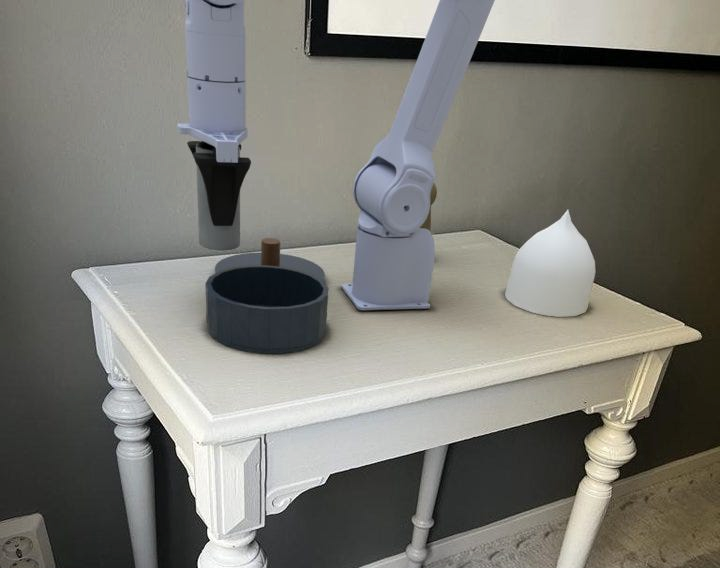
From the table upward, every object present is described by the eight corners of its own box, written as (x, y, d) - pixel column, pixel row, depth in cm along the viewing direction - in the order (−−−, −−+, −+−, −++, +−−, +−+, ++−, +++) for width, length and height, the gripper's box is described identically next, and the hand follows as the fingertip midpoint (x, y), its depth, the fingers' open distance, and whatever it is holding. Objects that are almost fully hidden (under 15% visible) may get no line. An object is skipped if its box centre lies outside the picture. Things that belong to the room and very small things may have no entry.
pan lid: (310, 259, 104) (311, 224, 101) (336, 297, 93) (339, 258, 90) (208, 260, 99) (207, 224, 97) (223, 299, 88) (222, 259, 86)
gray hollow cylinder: (230, 253, 80) (229, 152, 74) (192, 246, 81) (188, 145, 75) (246, 242, 84) (246, 145, 78) (209, 235, 84) (207, 139, 79)
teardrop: (605, 311, 97) (632, 218, 90) (543, 321, 92) (567, 224, 85) (548, 282, 105) (569, 195, 98) (488, 290, 100) (505, 199, 93)
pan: (310, 305, 90) (312, 264, 87) (338, 351, 79) (342, 307, 77) (200, 307, 86) (199, 265, 83) (215, 356, 76) (214, 310, 73)
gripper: (169, 66, 77) (176, 199, 85) (182, 86, 66) (188, 238, 74) (236, 70, 79) (237, 200, 87) (259, 91, 68) (258, 238, 76)
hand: (219, 218), depth 81 cm, fingers closed on gray hollow cylinder, 4 cm apart
